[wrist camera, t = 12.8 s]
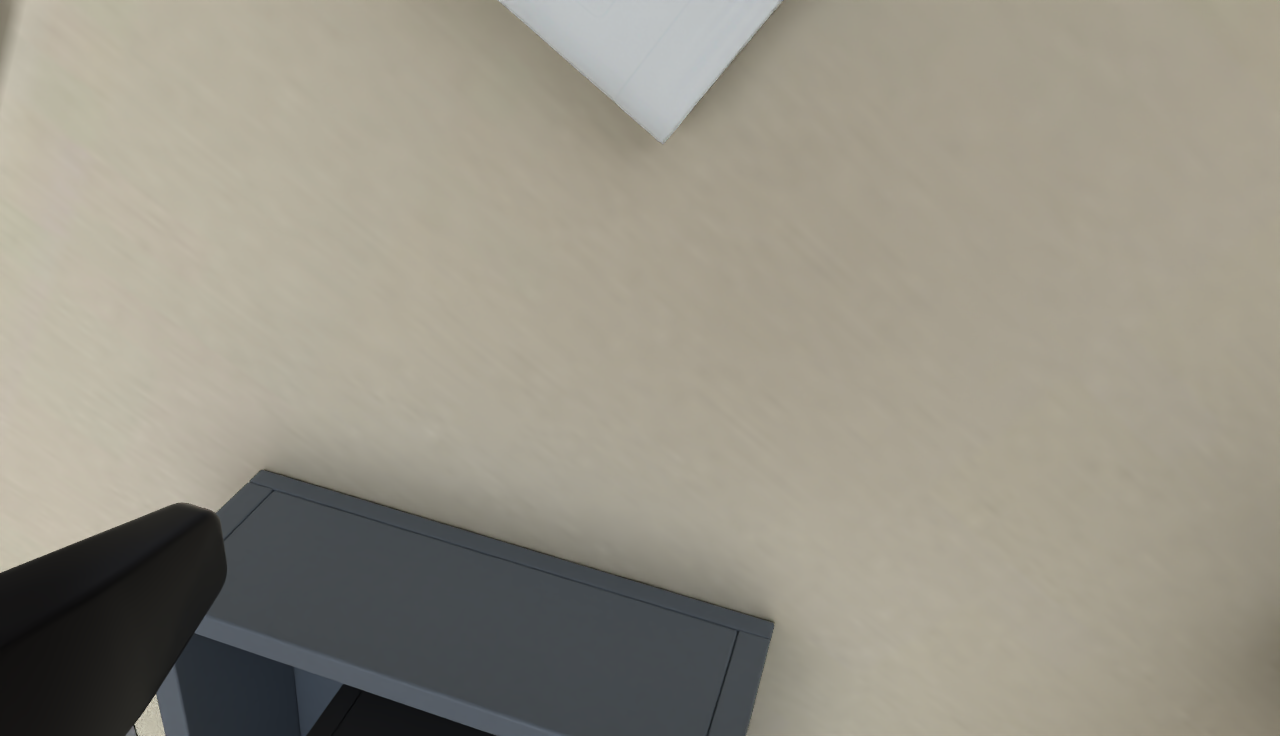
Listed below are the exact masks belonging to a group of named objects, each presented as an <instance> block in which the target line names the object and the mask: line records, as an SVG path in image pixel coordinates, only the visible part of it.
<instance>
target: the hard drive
mask: <svg viewBox="0 0 1280 736" xmlns="http://www.w3.org/2000/svg"><path fill="white" fill-rule="evenodd" d="M498 1H499V2H500V3H501V4H503V5H504V6H505V7H506V8H507V9H508V10H509V11H511V12H512V13H513V14H514V15H515V16H516V17H518V18H519V19H520V20H521V21H522V22H523V23H525V24H526V25H527V26H528V27H529V28H530V29H532V30H533V31H534V32H535V33H536V34H537V35H538V36H539V37H540V38H542V39H543V40H544V41H545V42H546V43H547V44H548V45H549V46H550V47H551V48H553V49H554V50H555V51H556V52H557V53H558V54H560V55H561V56H562V57H563V58H564V59H565V60H566V61H568V62H569V63H570V64H571V65H572V66H573V67H574V68H575V69H577V70H578V71H579V72H580V73H581V74H582V75H584V76H585V77H586V78H587V79H588V80H590V81H591V82H592V83H593V84H594V85H595V86H596V87H597V88H599V89H600V90H601V91H602V92H603V93H604V94H605V95H607V96H608V97H609V98H610V99H611V100H613V101H614V102H615V103H616V104H617V105H618V106H619V107H620V108H621V109H622V110H623V111H624V112H626V113H627V114H628V115H629V116H630V117H631V118H632V119H633V120H635V121H636V122H637V123H638V124H639V125H640V126H641V127H643V128H644V129H645V130H646V131H647V132H649V133H650V134H651V135H652V136H653V137H654V138H655V139H656V140H657V141H658V142H660V143H662V144H664V143H665V142H666V141H667V139H668V138H669V137H670V136H671V135H672V133H673V132H674V131H675V130H676V129H677V127H678V126H679V125H680V124H681V122H682V121H683V120H684V119H685V118H686V116H687V115H688V114H689V113H690V112H691V110H692V109H693V108H694V107H695V106H696V104H697V103H698V102H699V101H700V100H701V98H702V97H703V96H704V95H705V94H706V92H707V91H708V90H709V89H710V88H711V86H712V85H713V84H714V83H715V82H716V80H717V79H718V78H719V77H720V76H721V74H722V73H723V72H724V71H725V70H726V68H727V67H728V66H729V65H730V64H731V63H732V61H733V60H734V59H735V58H736V57H737V55H738V54H739V53H740V52H741V51H742V49H743V48H744V47H745V46H746V45H747V44H748V42H749V41H750V40H751V39H752V37H753V36H754V35H755V34H756V32H757V31H758V30H759V29H760V28H761V26H762V25H763V24H764V23H765V22H766V21H767V19H768V18H769V17H770V16H771V15H772V13H773V12H774V11H775V10H776V9H777V8H778V6H779V5H780V4H781V3H782V2H783V0H498Z"/></svg>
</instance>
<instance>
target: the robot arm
mask: <svg viewBox="0 0 1280 736" xmlns="http://www.w3.org/2000/svg"><path fill="white" fill-rule="evenodd" d="M226 576H227V560H226V554H225V547H224V540H223V534H222V527H221V522H220V519H219V517H218V516H217V514H216V513H215V512H213V511H211V510H208V509H205V508H202V507H198V506H195V505H192V504H189V503H176V504H173V505H170V506H167V507H165V508H162V509H160V510H157V511H155V512H152V513H150V514H147V515H145V516H142V517H140V518H137V519H135V520H132V521H130V522H127V523H125V524H122V525H120V526H117V527H115V528H112V529H110V530H107V531H104V532H102V533H99V534H97V535H94V536H92V537H89V538H87V539H84V540H82V541H79V542H77V543H74V544H72V545H69V546H67V547H64V548H62V549H59V550H57V551H54V552H52V553H49V554H47V555H44V556H42V557H39V558H37V559H34V560H32V561H29V562H27V563H24V564H22V565H19V566H17V567H14V568H12V569H9V570H7V571H4V572H2V573H0V736H126V734H127V733H128V732H129V730H130V729H131V728H132V726H133V725H134V724H135V722H136V721H137V720H138V718H139V717H140V716H141V714H142V713H143V712H144V710H145V709H146V707H147V706H148V704H149V703H150V701H151V700H152V699H153V697H154V696H155V694H156V693H157V691H158V689H159V688H160V686H161V685H162V683H163V682H164V680H165V678H166V677H167V675H168V674H169V672H170V671H171V669H172V667H173V666H174V664H175V663H176V661H177V659H178V658H179V656H180V655H181V653H182V652H183V650H184V648H185V647H186V645H187V644H188V642H189V640H190V639H191V637H192V636H193V634H194V633H195V631H196V629H197V628H198V626H199V625H200V623H201V622H202V620H203V618H204V617H205V615H206V614H207V612H208V610H209V609H210V607H211V606H212V604H213V603H214V601H215V599H216V598H217V596H218V595H219V593H220V591H221V589H222V587H223V585H224V583H225V580H226Z"/></svg>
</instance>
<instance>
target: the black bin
mask: <svg viewBox="0 0 1280 736" xmlns="http://www.w3.org/2000/svg"><path fill="white" fill-rule="evenodd" d="M306 736H496V735H493V734H490V733H487V732H484V731H481V730H478V729H476V728H473V727H470V726H467V725H464V724H461V723H458V722H455V721H452V720H449V719H446V718H443V717H440V716H437V715H434V714H431V713H428V712H425V711H422V710H420V709H417V708H414V707H411V706H408V705H405V704H402V703H399V702H396V701H393V700H390V699H387V698H384V697H381V696H378V695H375V694H372V693H369V692H366V691H364V690H361V689H358V688H355V687H352V686H349V685H346V684H343V685H342V686H341V687H340V689H339V690H338V692H337V693H336V694H335V696H334V697H333V699H332V700H331V701H330V703H329V704H328V706H327V707H326V708H325V710H324V711H323V713H322V714H321V715H320V717H319V718H318V720H317V721H316V722H315V724H314V725H313V727H312V728H311V729H310V731H309V732H308V734H307V735H306Z"/></svg>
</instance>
